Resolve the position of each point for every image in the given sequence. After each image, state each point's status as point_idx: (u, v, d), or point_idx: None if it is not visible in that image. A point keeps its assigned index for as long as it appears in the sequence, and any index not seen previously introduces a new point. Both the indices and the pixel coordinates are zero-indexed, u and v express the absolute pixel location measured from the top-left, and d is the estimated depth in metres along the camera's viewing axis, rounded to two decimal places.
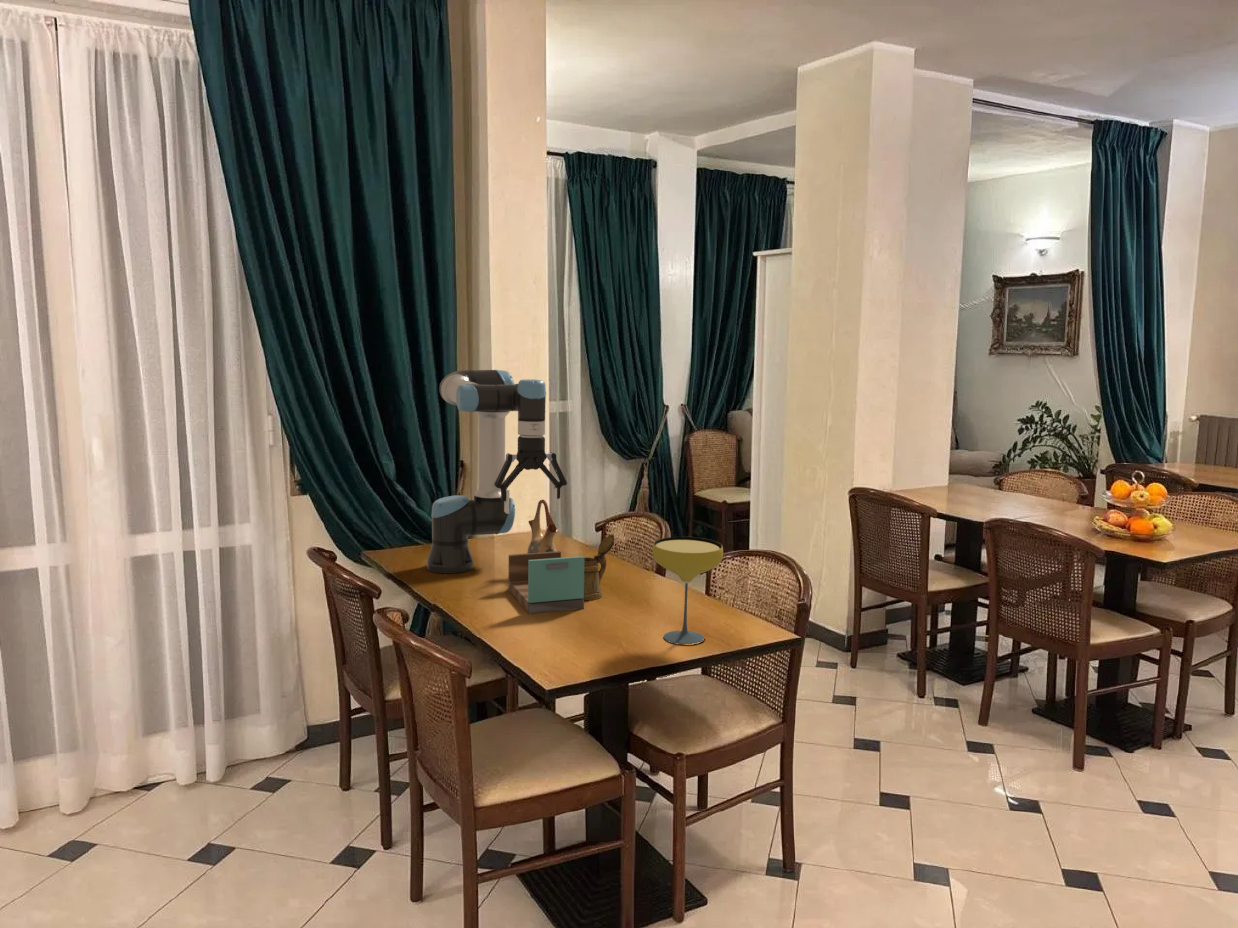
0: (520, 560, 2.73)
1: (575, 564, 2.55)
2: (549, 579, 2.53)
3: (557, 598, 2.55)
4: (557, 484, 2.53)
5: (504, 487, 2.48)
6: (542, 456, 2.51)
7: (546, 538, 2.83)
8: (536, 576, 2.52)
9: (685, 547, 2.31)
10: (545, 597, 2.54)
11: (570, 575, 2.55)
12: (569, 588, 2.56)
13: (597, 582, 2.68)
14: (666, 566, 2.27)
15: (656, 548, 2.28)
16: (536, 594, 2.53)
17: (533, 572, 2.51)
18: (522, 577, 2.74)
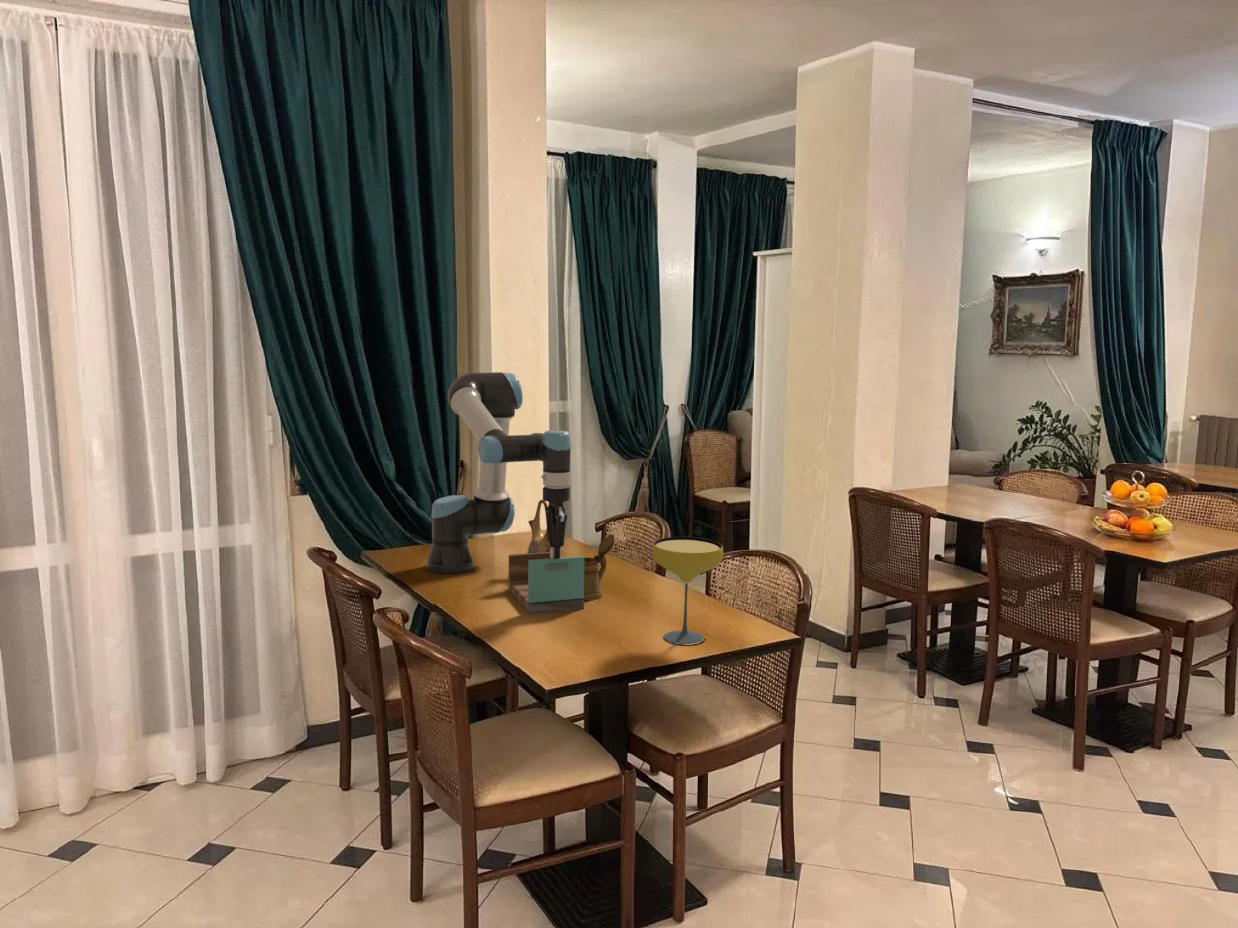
0: (520, 560, 2.73)
1: (575, 564, 2.55)
2: (549, 579, 2.53)
3: (557, 598, 2.55)
4: (552, 543, 2.53)
5: (549, 542, 2.55)
6: (555, 508, 2.50)
7: (546, 538, 2.83)
8: (536, 576, 2.52)
9: (685, 547, 2.31)
10: (545, 597, 2.54)
11: (570, 575, 2.55)
12: (569, 588, 2.56)
13: (597, 582, 2.68)
14: (666, 566, 2.27)
15: (656, 548, 2.28)
16: (536, 594, 2.53)
17: (533, 572, 2.51)
18: (522, 577, 2.74)
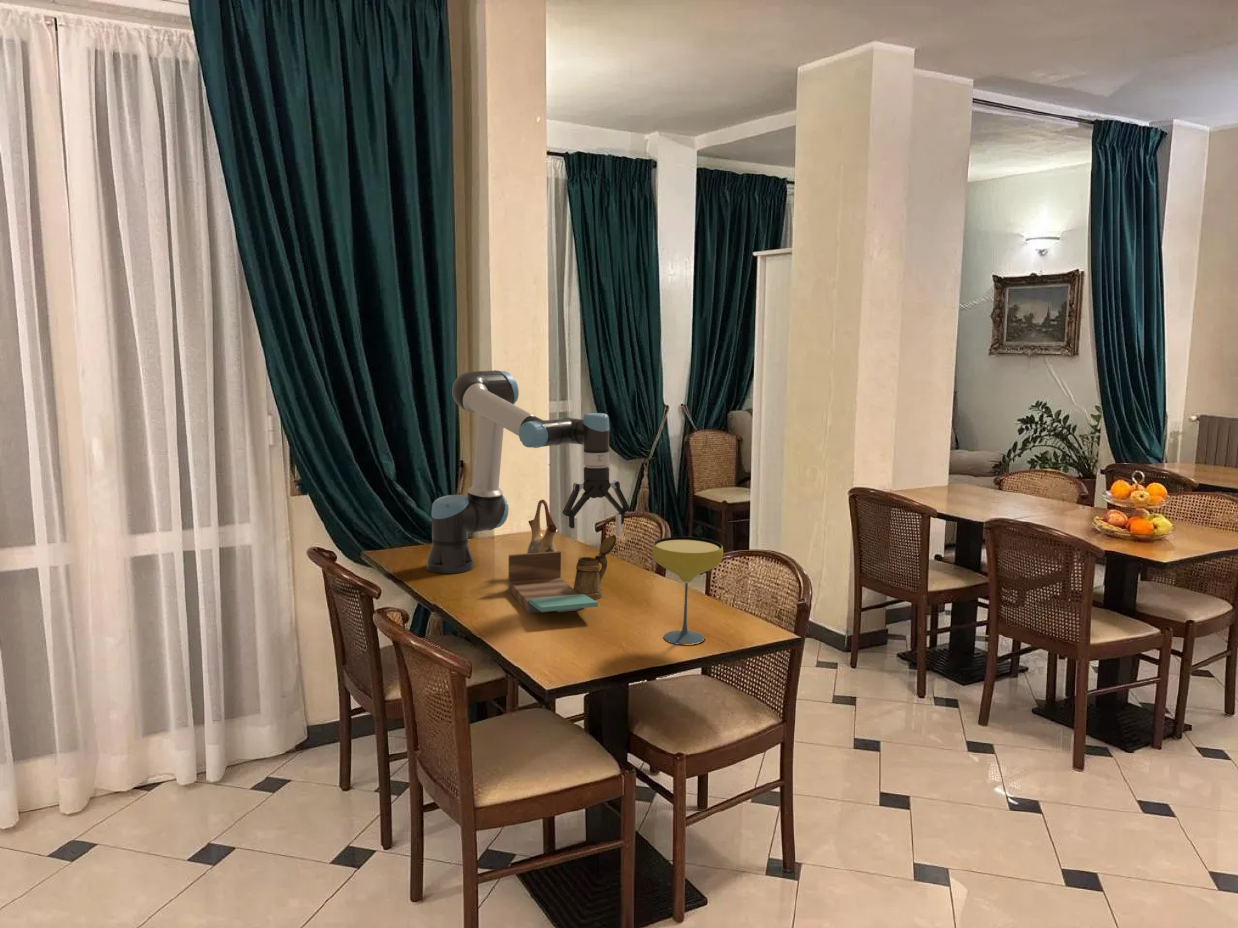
0: (520, 560, 2.73)
1: None
2: None
3: None
4: (621, 510, 2.69)
5: (572, 515, 2.64)
6: (607, 485, 2.66)
7: (546, 538, 2.83)
8: None
9: (685, 547, 2.31)
10: None
11: None
12: None
13: (597, 582, 2.68)
14: (666, 566, 2.27)
15: (656, 548, 2.28)
16: None
17: None
18: (522, 577, 2.74)
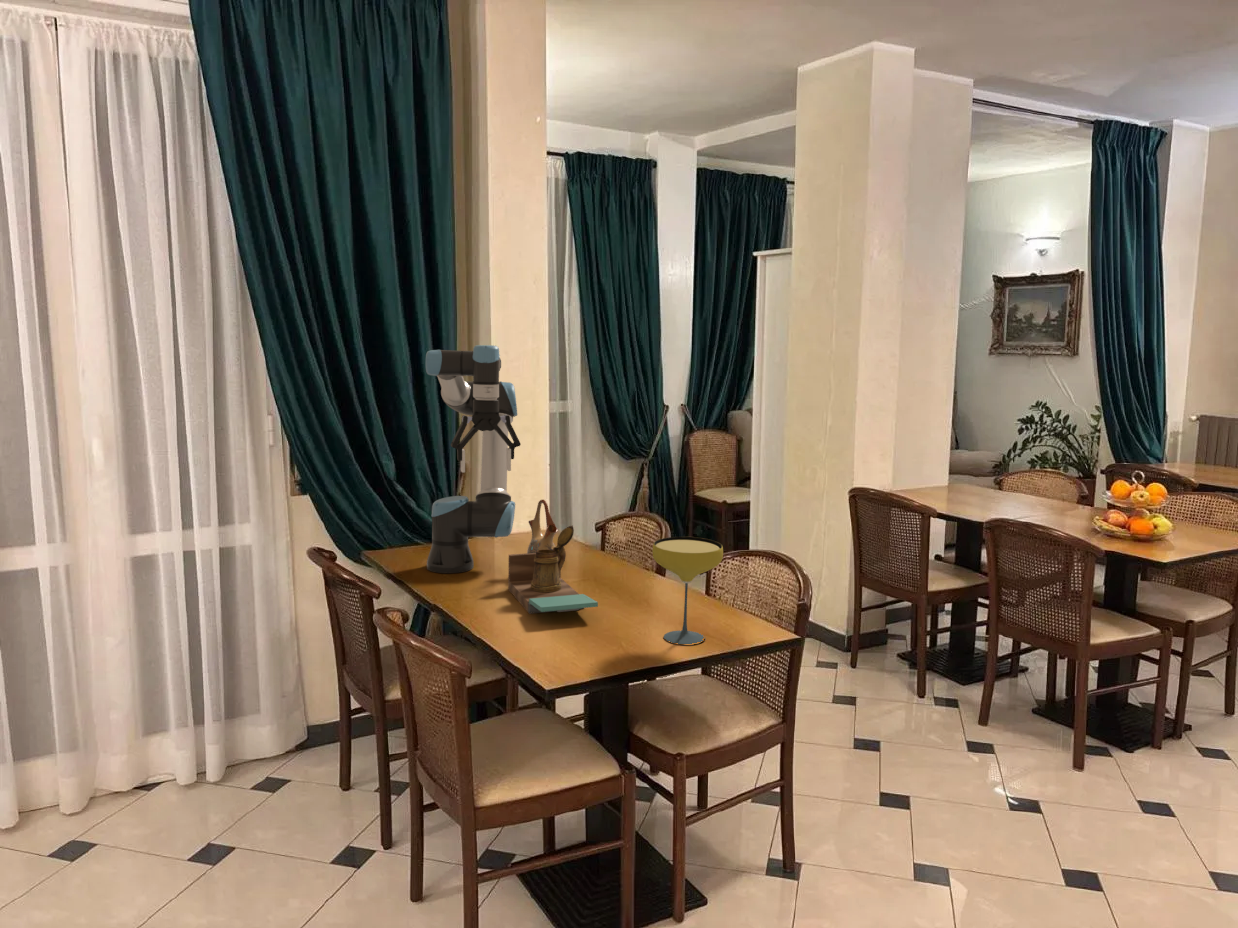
0: (520, 560, 2.73)
1: None
2: None
3: None
4: (511, 445, 2.67)
5: (460, 447, 2.61)
6: (496, 418, 2.64)
7: (546, 538, 2.83)
8: None
9: (685, 547, 2.31)
10: None
11: None
12: None
13: (557, 574, 2.64)
14: (666, 566, 2.27)
15: (656, 548, 2.28)
16: None
17: None
18: (522, 577, 2.74)
